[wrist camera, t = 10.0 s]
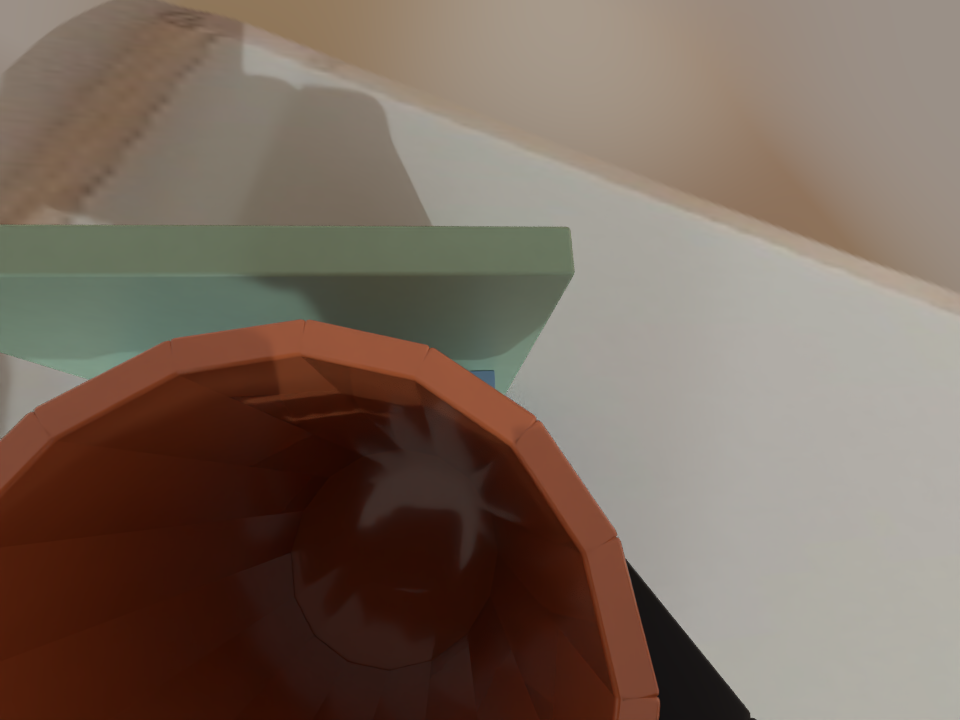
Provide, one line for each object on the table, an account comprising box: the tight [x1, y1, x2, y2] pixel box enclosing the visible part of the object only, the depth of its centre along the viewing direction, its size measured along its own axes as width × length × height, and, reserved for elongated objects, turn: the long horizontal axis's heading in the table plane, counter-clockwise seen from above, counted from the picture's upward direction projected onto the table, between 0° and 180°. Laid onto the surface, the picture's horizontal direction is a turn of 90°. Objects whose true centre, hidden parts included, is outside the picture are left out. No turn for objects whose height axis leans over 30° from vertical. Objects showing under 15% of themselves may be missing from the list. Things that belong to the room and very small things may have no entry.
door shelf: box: [0, 225, 575, 395], centre depth 14 cm, size 13×16×13 cm
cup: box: [0, 319, 660, 720], centre depth 9 cm, size 7×7×10 cm
